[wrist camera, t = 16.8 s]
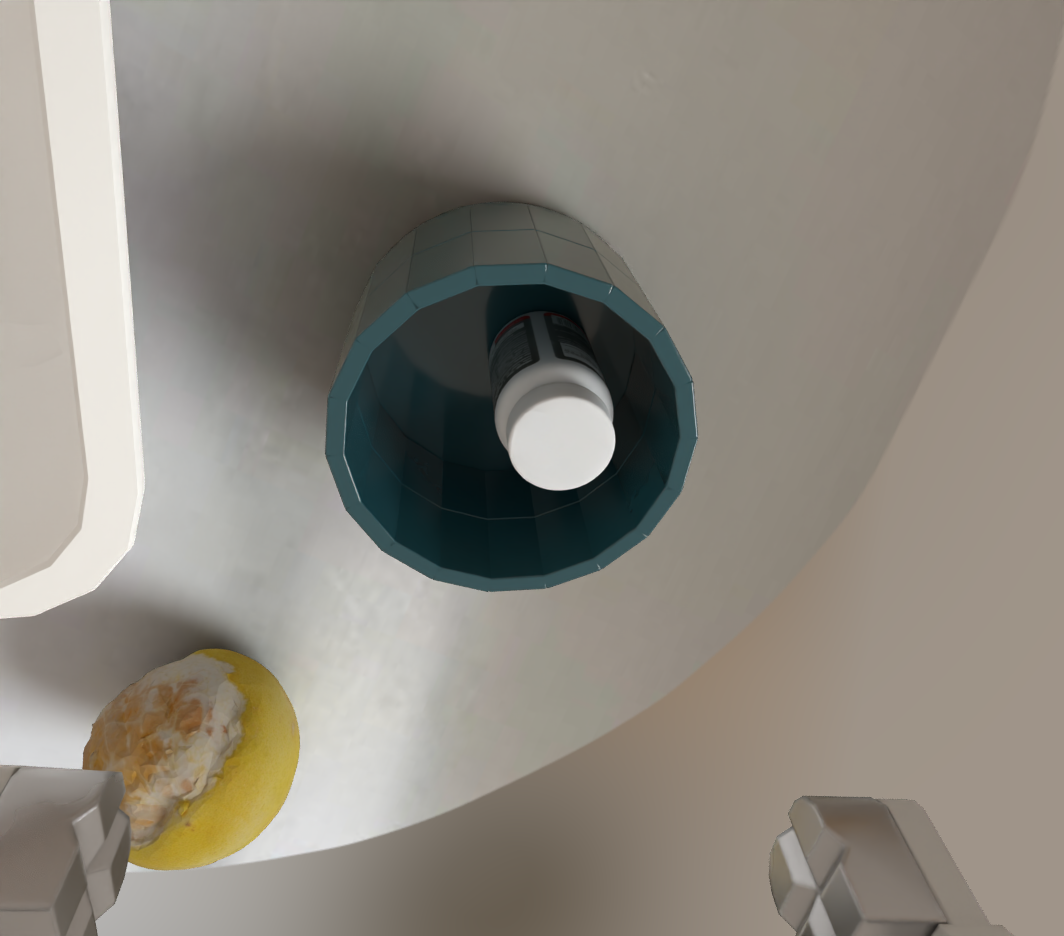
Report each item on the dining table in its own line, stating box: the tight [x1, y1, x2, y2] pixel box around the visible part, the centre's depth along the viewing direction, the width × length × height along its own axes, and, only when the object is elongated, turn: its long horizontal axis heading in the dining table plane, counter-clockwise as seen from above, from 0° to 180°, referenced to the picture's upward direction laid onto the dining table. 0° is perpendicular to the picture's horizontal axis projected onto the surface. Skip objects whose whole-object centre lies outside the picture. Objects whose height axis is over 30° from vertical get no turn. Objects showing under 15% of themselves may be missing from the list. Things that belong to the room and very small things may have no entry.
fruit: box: [82, 649, 300, 870], centre depth 41 cm, size 10×11×10 cm
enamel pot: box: [325, 202, 698, 592], centre depth 33 cm, size 13×14×9 cm
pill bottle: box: [489, 311, 615, 490], centre depth 33 cm, size 5×5×8 cm
